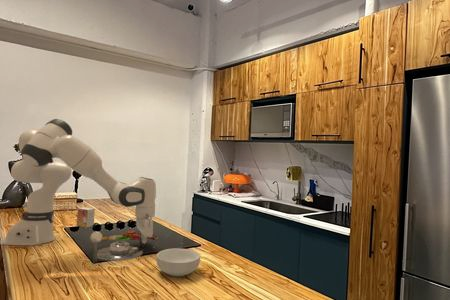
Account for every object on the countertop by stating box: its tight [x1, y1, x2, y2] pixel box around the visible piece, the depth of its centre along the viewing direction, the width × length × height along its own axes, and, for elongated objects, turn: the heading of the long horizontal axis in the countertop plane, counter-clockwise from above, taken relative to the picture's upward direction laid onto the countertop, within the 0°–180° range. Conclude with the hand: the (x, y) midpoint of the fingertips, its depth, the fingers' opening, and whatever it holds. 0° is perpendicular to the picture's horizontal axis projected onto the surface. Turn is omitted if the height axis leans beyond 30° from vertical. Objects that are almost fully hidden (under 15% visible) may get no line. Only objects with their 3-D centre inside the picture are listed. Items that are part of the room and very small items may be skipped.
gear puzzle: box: [101, 230, 159, 242], centre depth 164 cm, size 31×16×4 cm, turn 130°
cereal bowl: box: [156, 247, 201, 277], centre depth 123 cm, size 17×17×7 cm
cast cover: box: [109, 240, 130, 255], centre depth 138 cm, size 8×8×5 cm
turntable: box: [97, 236, 146, 262], centre depth 139 cm, size 23×20×6 cm
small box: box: [76, 206, 96, 229], centre depth 186 cm, size 8×6×10 cm
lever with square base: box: [89, 231, 103, 264], centre depth 125 cm, size 4×5×14 cm
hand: (143, 242), depth 146 cm, fingers closed
